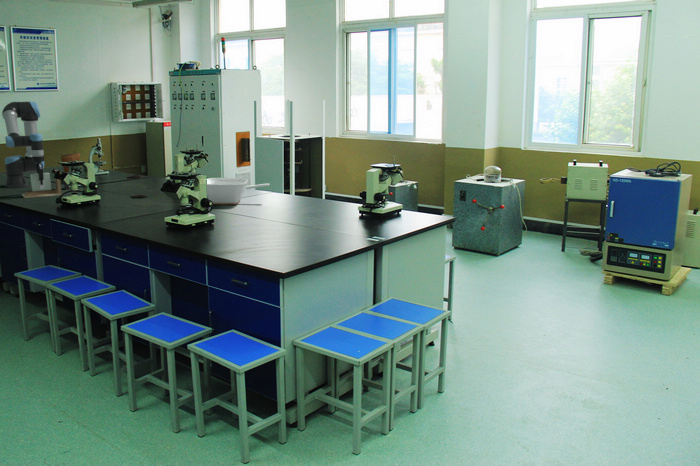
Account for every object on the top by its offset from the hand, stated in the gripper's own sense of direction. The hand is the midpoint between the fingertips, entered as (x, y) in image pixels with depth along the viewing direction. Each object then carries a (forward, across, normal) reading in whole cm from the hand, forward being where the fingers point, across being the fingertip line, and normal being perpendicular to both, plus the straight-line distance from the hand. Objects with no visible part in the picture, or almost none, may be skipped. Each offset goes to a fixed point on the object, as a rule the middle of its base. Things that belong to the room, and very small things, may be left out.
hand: (41, 188), depth 426 cm
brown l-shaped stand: (+5, -1, 0) cm, 5 cm away
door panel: (+1, 0, 0) cm, 1 cm away
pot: (+5, +95, +107) cm, 143 cm away
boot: (+5, -22, +30) cm, 37 cm away
